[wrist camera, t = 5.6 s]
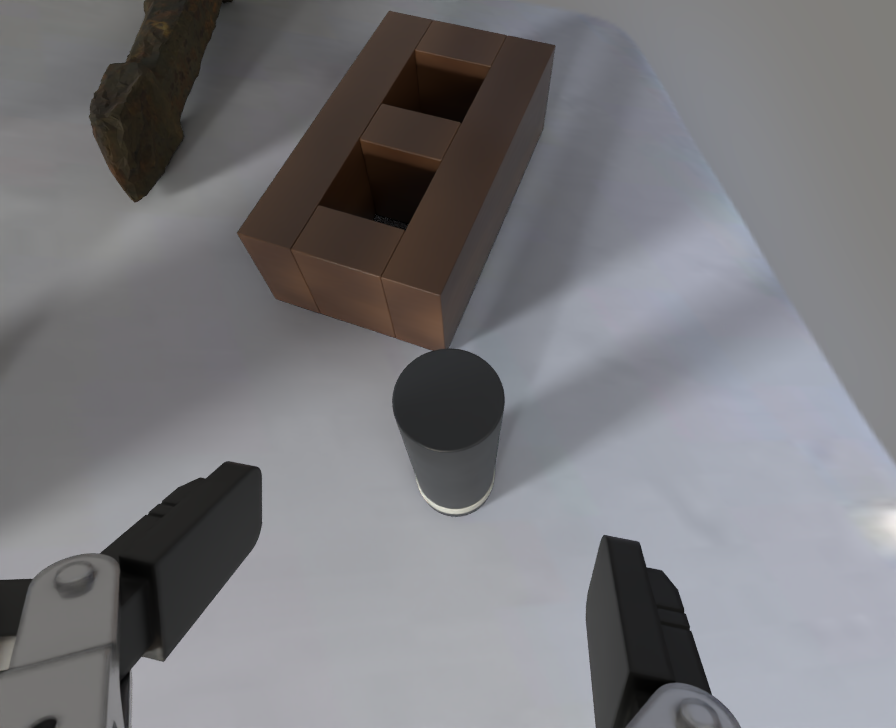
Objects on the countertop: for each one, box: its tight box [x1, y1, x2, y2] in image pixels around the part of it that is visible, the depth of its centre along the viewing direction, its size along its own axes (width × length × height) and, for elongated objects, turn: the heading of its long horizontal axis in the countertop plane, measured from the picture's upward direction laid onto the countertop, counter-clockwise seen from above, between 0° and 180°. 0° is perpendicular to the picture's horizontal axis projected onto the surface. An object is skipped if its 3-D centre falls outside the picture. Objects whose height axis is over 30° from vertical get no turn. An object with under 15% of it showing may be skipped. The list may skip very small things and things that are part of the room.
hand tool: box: [89, 0, 233, 202], centre depth 32 cm, size 19×4×5 cm, turn 176°
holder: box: [237, 11, 555, 351], centre depth 27 cm, size 9×16×5 cm, turn 159°
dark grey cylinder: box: [392, 349, 505, 517], centre depth 19 cm, size 3×3×9 cm
